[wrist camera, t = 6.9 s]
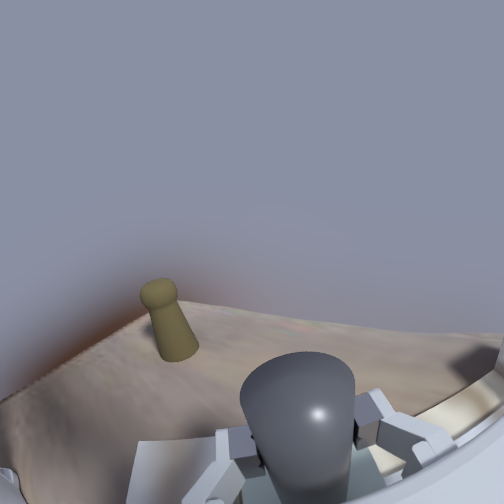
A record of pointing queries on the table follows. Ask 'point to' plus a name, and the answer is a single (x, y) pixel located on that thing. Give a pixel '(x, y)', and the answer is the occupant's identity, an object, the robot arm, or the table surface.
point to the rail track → (443, 415)
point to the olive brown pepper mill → (168, 321)
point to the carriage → (306, 432)
